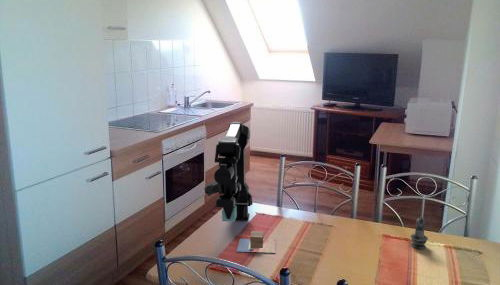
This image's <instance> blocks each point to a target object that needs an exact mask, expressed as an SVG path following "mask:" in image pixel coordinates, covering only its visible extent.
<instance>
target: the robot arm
mask: <svg viewBox="0 0 500 285" xmlns="http://www.w3.org/2000/svg"><path fill="white" fill-rule="evenodd" d="M250 138H251V131H250V128H249V126H246V125H245V124H244V123H243V122H240V121H232V122H229V125H228V126H227V132H226V135H225V137H222V138H220V139H219V140H218V142H217V143H216V145H215V153H214V163H216V164H217V163H218V167H217V169H216V170H215V171H214V175H213V178H214V181H213V182H209V183H207V184H206V185H205V186H204V194H206V195H207V196H208V197H210V196H211V195H214V194H217V193H218V195H219V196H217V197H216V200H215V207H216V208H223V209H224V212H225V215H226V218H227V219H230V217H231V215H232V212H233V209H234V207H235V205H236V209H237V217H236V220H235V221H247V222H248V221H249V219H250V213H249V207H251V206H252V205H253V203H254V202H253V201H254V200H253V196H252V193H251V192H250V187H249V185H248V183H247V182H246V147H247V145H248V143H249V140H250Z"/></svg>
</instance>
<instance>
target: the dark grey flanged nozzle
mask: <svg viewBox="0 0 500 285" xmlns="http://www.w3.org/2000/svg"><path fill="white" fill-rule="evenodd" d="M422 216H423V215H420V216H419V217H418V218H416V223H415V226H414V229H415V230H414V233H411V235H410V240H411V241H412V242H411V243H410V247H412V248H413V249H415V250H419V251H420V250H421V251H422V250H426V248H427V246H426V245H425V244H426V243H427V242H428V239H429V237H428V236H426V235H425V230H426V227H425V226H426V225H425V223H426V220H425V219H424V218H423V217H422Z"/></svg>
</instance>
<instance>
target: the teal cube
mask: <svg viewBox="0 0 500 285" xmlns="http://www.w3.org/2000/svg"><path fill="white" fill-rule="evenodd" d="M221 208H222V209H221V219H222V220H221V222H229V223H230V222H233V223H235V222H236V221H237V220H236V217H237V209H236V205H235V207H234V209H233V212H232V215H231V217H230V219H227V218H226V215H225V212H224V209H223V207H221Z"/></svg>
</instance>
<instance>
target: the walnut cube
mask: <svg viewBox="0 0 500 285" xmlns="http://www.w3.org/2000/svg"><path fill="white" fill-rule="evenodd" d="M249 239H250V248H263V239H264V231H259V230H258V231H257V230H256V231H255V230H254V231H253V230H252V231H251V232H250V236H249Z"/></svg>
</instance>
